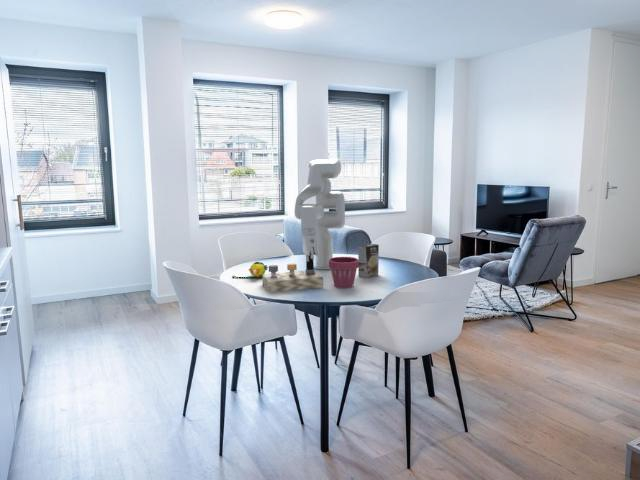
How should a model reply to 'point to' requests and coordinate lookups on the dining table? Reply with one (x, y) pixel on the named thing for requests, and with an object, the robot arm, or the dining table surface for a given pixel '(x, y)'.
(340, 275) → the plant pot
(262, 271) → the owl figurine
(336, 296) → the dining table surface
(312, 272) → the knob
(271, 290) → the console
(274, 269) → the knob
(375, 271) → the coffee box
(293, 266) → the knob mid
